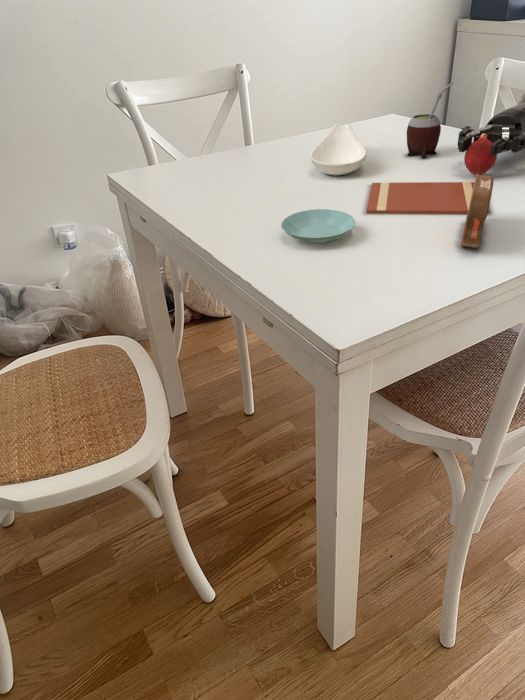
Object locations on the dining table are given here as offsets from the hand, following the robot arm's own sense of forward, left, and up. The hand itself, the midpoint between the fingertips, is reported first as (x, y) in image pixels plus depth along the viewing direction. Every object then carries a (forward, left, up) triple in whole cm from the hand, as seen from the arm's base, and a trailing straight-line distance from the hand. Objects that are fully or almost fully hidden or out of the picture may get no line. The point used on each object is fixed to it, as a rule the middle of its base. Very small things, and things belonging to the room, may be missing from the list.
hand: (476, 148), depth 100 cm
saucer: (+26, +28, -6) cm, 38 cm away
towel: (+9, +10, -6) cm, 15 cm away
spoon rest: (+27, -12, -6) cm, 30 cm away
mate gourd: (+9, -18, -6) cm, 21 cm away
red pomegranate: (-1, -2, -6) cm, 7 cm away
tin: (+2, +27, -6) cm, 28 cm away
